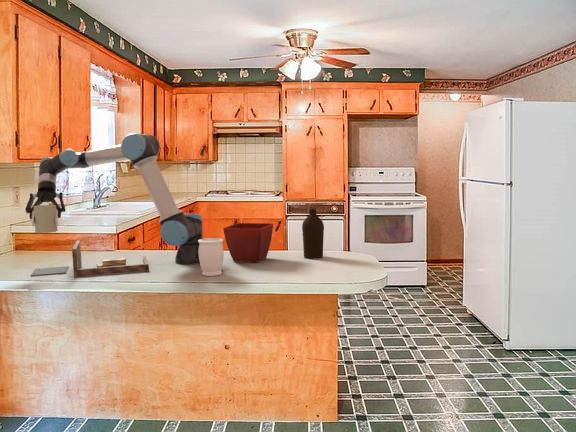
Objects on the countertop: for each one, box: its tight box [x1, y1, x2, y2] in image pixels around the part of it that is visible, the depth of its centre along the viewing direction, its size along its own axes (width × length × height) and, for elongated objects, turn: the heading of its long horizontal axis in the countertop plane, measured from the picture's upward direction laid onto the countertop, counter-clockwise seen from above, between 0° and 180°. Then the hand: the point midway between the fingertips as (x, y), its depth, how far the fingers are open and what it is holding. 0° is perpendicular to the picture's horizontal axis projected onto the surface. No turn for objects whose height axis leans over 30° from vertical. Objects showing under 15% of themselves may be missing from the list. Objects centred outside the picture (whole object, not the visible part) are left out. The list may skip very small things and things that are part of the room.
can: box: [32, 204, 59, 234], centre depth 229 cm, size 9×9×12 cm
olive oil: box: [301, 205, 325, 260], centre depth 253 cm, size 11×11×25 cm
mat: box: [30, 265, 69, 277], centre depth 232 cm, size 14×14×1 cm
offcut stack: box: [96, 257, 127, 268], centre depth 231 cm, size 15×5×5 cm, turn 112°
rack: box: [71, 239, 150, 278], centre depth 237 cm, size 31×26×12 cm
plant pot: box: [223, 222, 274, 263], centre depth 249 cm, size 19×19×17 cm
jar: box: [198, 237, 225, 277], centre depth 220 cm, size 11×10×15 cm
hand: (44, 223), depth 226 cm, fingers closed on can, 9 cm apart
